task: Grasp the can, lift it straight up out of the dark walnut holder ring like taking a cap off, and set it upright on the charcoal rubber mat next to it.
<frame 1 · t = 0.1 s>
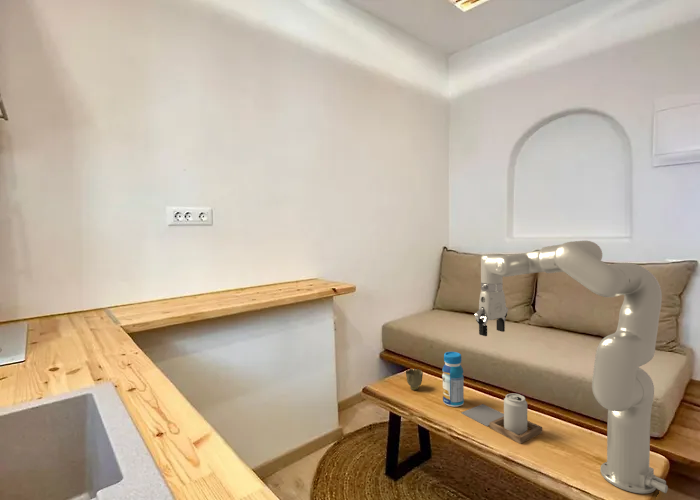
hand: (492, 333, 144), 31 cm above the table, tool pointing down, fingers open, 9 cm apart
beverage bottle: (453, 403, 156), on the table
can: (515, 430, 134), resting in holder ring
cup: (414, 389, 170), on the table
holder ring: (515, 430, 134), on the table
mat: (484, 415, 145), on the table
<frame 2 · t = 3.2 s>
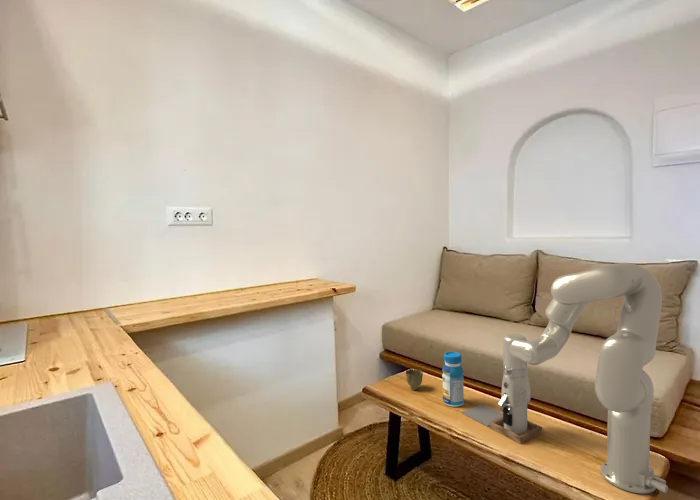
hand: (515, 420, 134), 3 cm above the table, tool pointing down, fingers closed on can, 7 cm apart
can: (515, 430, 134), resting in holder ring, touching gripper
everything else where it was.
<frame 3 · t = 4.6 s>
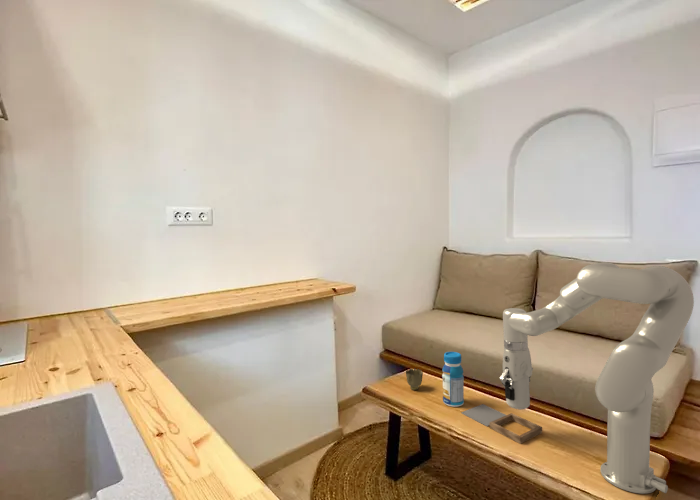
hand: (517, 395, 132), 13 cm above the table, tool pointing down, fingers closed on can, 7 cm apart
can: (518, 406, 133), point 9 cm above the table, touching gripper
everything else where it was.
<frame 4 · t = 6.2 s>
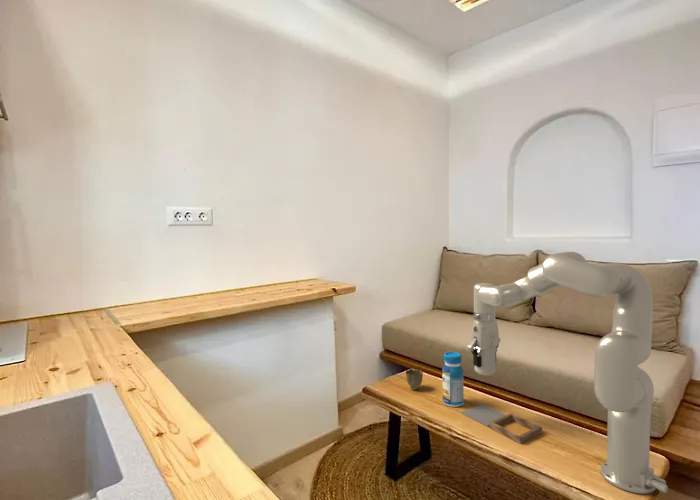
hand: (484, 363, 144), 20 cm above the table, tool pointing down, fingers closed on can, 7 cm apart
can: (485, 373, 144), point 16 cm above the table, touching gripper
everything else where it was.
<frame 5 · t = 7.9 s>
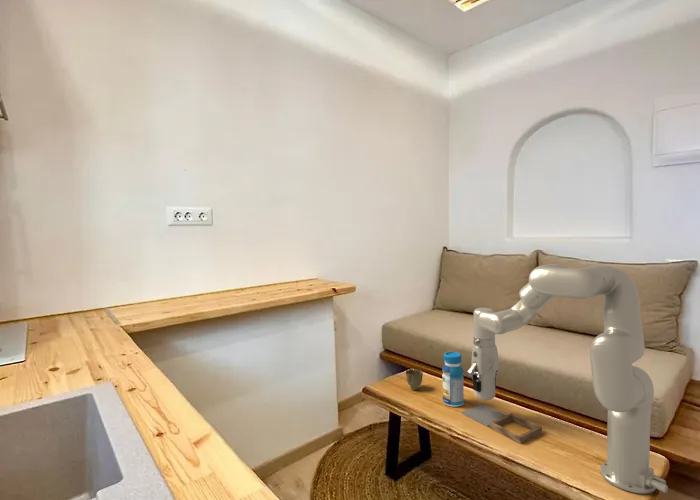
hand: (484, 387, 144), 11 cm above the table, tool pointing down, fingers closed on can, 7 cm apart
can: (484, 397, 145), point 7 cm above the table, touching gripper
everything else where it was.
when the fingers open (5 cm above the table, at t = 9.5 s): can drops 1 cm, resting on mat.
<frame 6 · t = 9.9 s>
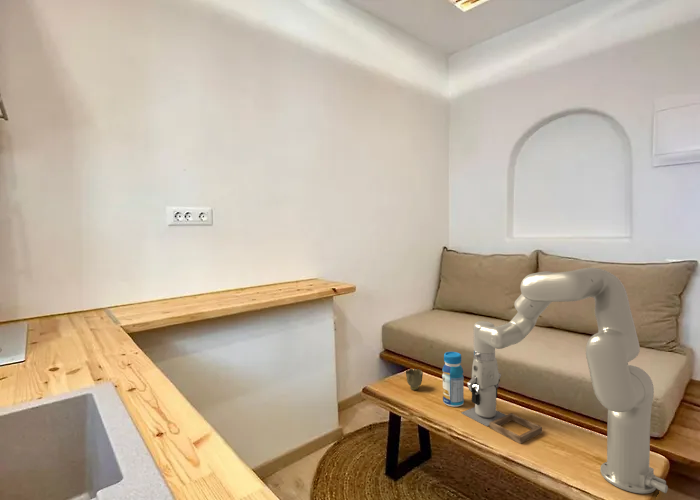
hand: (484, 400, 145), 6 cm above the table, tool pointing down, fingers open, 9 cm apart
can: (485, 414, 145), resting on mat
everything else where it was.
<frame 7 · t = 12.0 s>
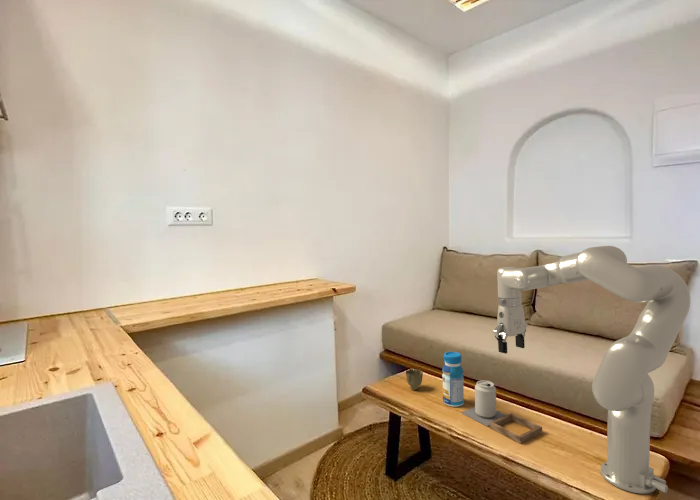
hand: (511, 349, 137), 27 cm above the table, tool pointing down, fingers open, 9 cm apart
nothing on the table moved.
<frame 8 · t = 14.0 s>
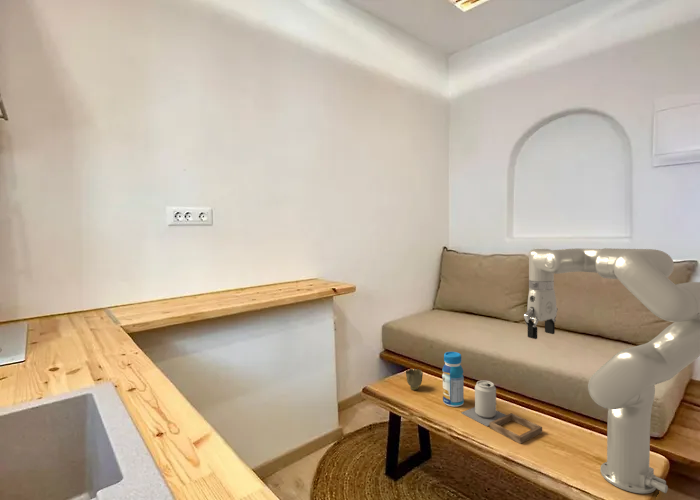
hand: (541, 335, 131), 33 cm above the table, tool pointing down, fingers open, 9 cm apart
nothing on the table moved.
at the end: can inside the target area on the mat (0.2 cm from its centre), point 0.2 cm above the mat's base; can tilted 0°; the gripper is holding nothing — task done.
